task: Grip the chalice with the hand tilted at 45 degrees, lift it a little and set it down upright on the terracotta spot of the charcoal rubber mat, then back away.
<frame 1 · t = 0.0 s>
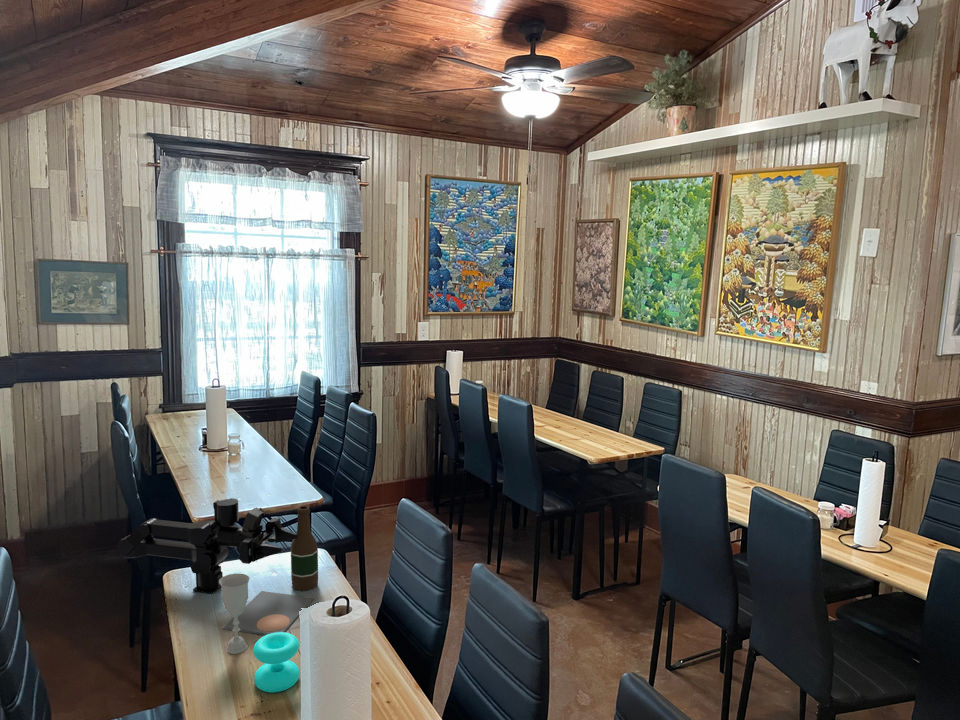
hand: (289, 542, 197), 17 cm above the table, tool horizontal, fingers open, 9 cm apart
beer bottle: (304, 586, 208), on the table
chalice: (236, 648, 175), on the table
turquoise spool: (277, 682, 162), on the table
mat: (270, 613, 191), on the table
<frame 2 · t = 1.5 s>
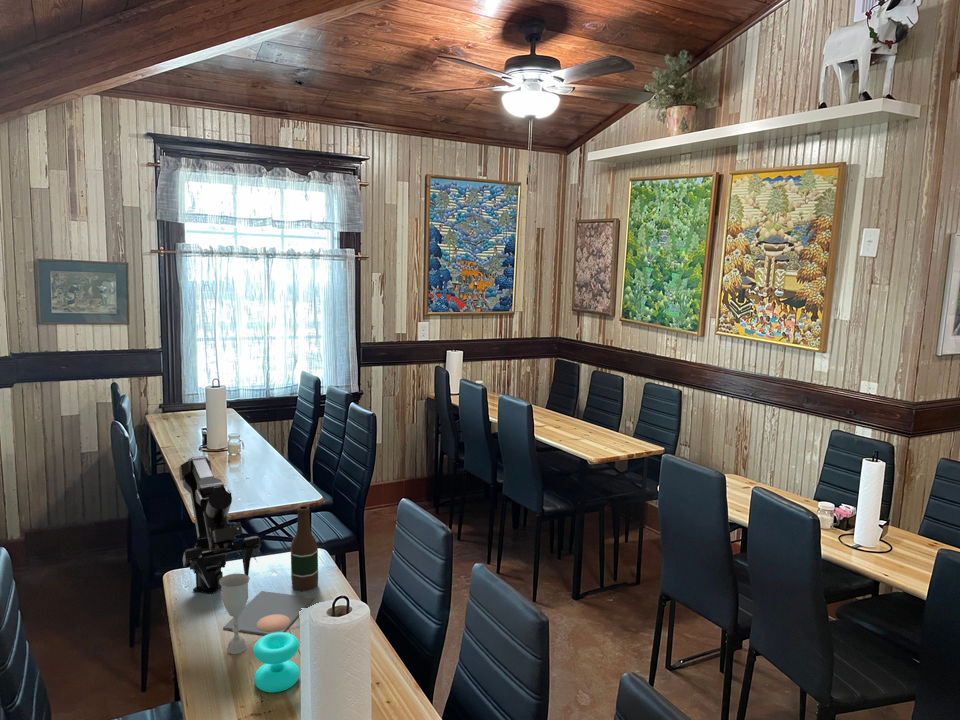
hand: (228, 582, 180), 14 cm above the table, tool tilted 45°, fingers open, 9 cm apart
nothing on the table moved.
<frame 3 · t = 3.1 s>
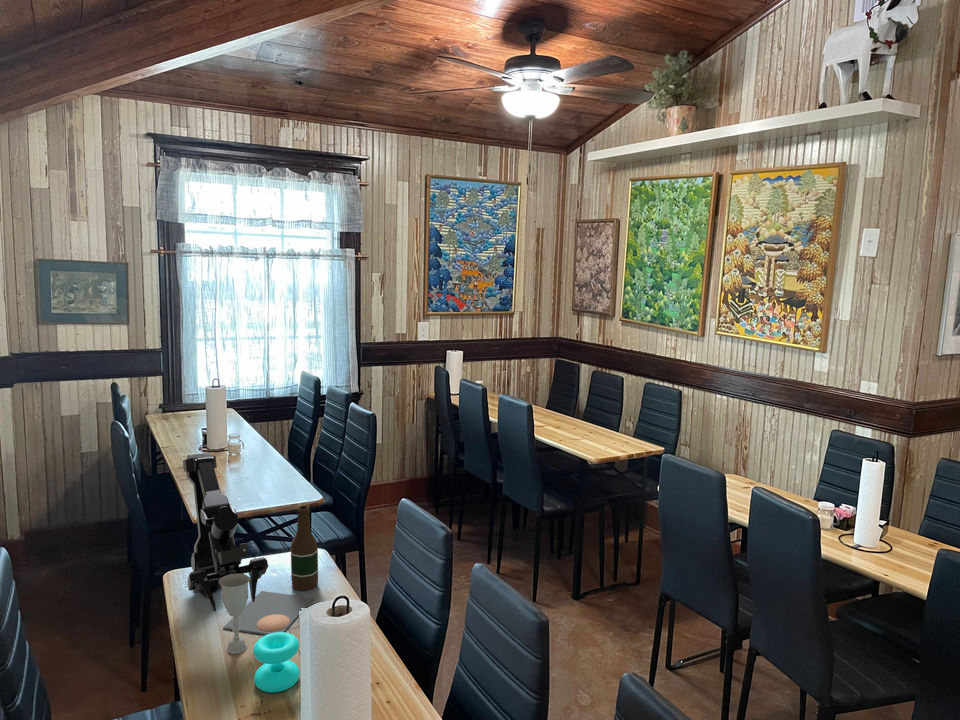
hand: (234, 606, 174), 11 cm above the table, tool tilted 45°, fingers open, 9 cm apart
nothing on the table moved.
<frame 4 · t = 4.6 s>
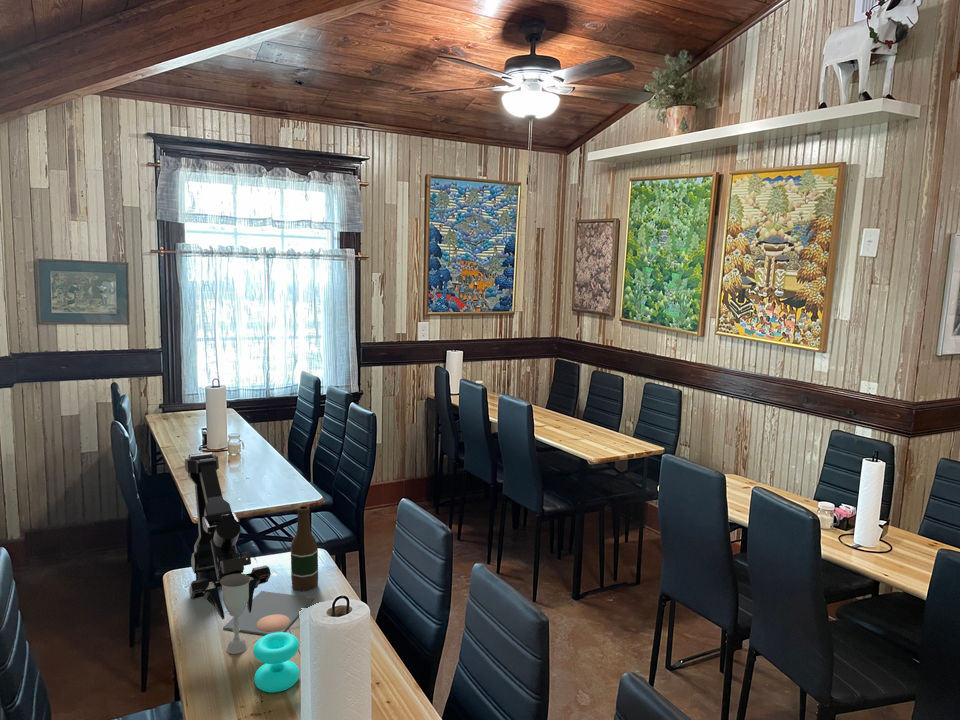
hand: (236, 615, 172), 9 cm above the table, tool tilted 45°, fingers closed on chalice, 6 cm apart
chalice: (236, 648, 175), on the table, touching gripper
everything else where it was.
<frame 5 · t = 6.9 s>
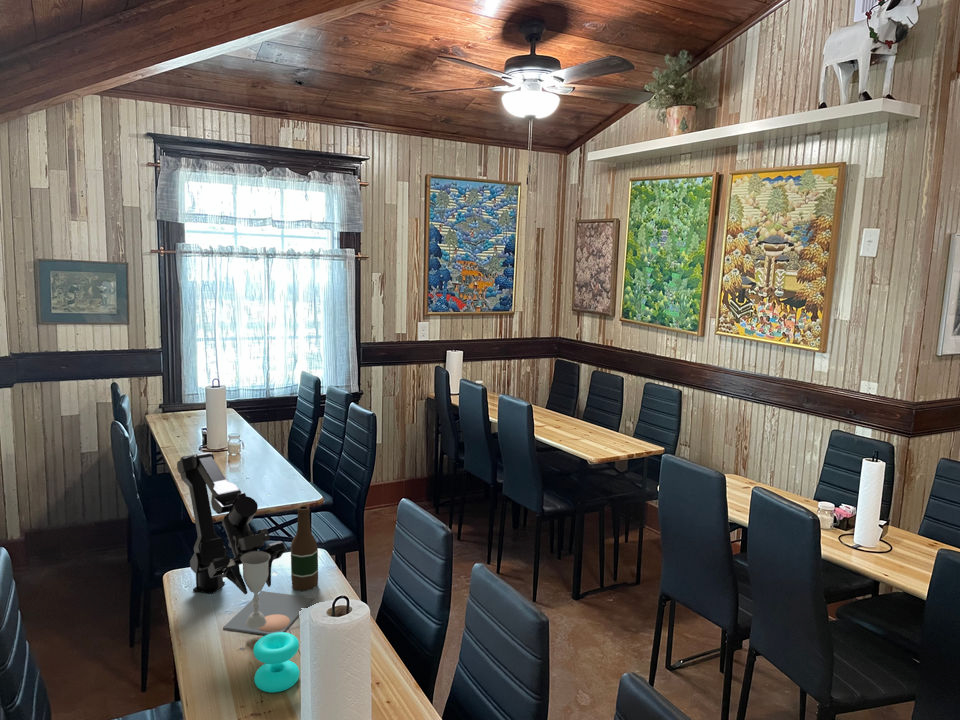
hand: (258, 590, 177), 13 cm above the table, tool tilted 45°, fingers closed on chalice, 6 cm apart
chalice: (256, 623, 180), point 3 cm above the table, touching gripper
everything else where it was.
when the fingers open (11 cm above the table, at t = 9.0 s): chalice stays where it is, resting on mat.
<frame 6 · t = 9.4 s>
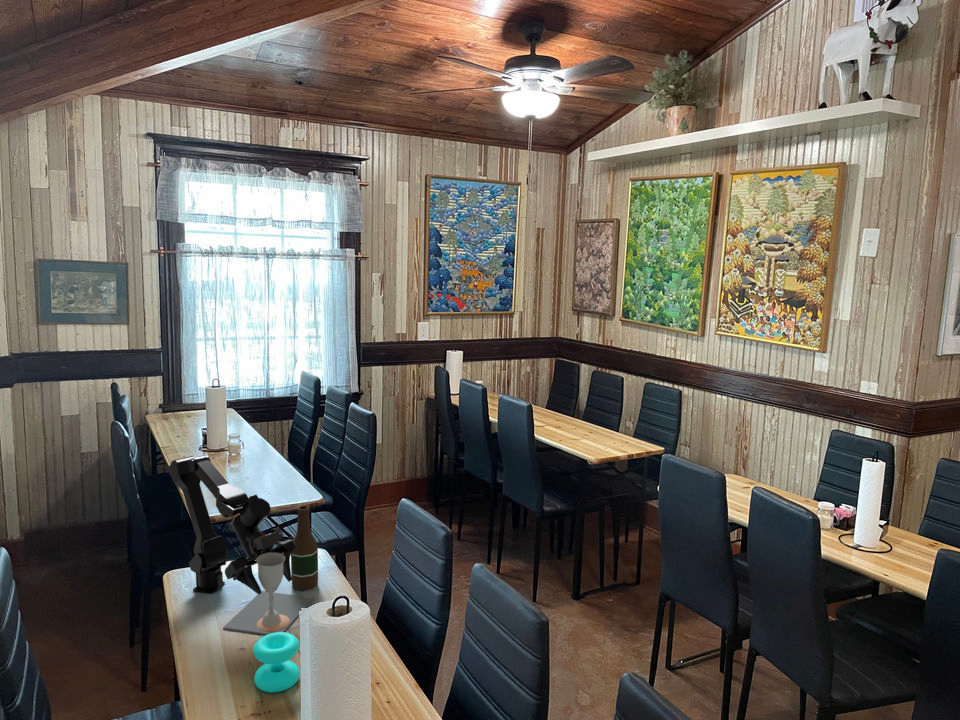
hand: (275, 587, 183), 11 cm above the table, tool tilted 45°, fingers open, 9 cm apart
chalice: (271, 621, 186), point 1 cm above the table, touching mat
everything else where it was.
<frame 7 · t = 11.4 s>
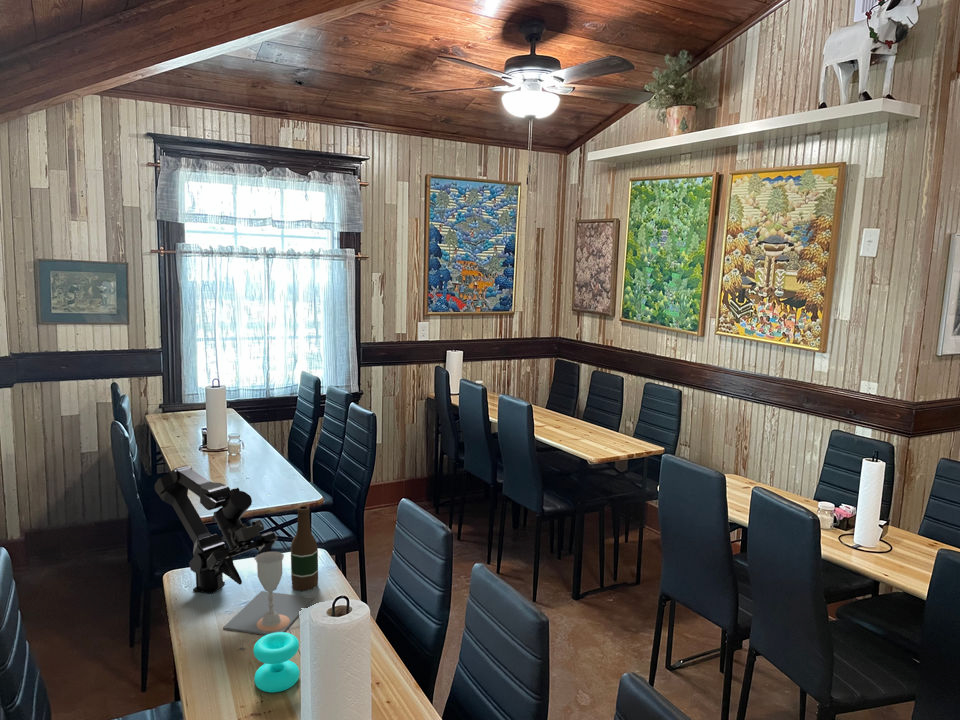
hand: (256, 577, 188), 11 cm above the table, tool tilted 45°, fingers open, 9 cm apart
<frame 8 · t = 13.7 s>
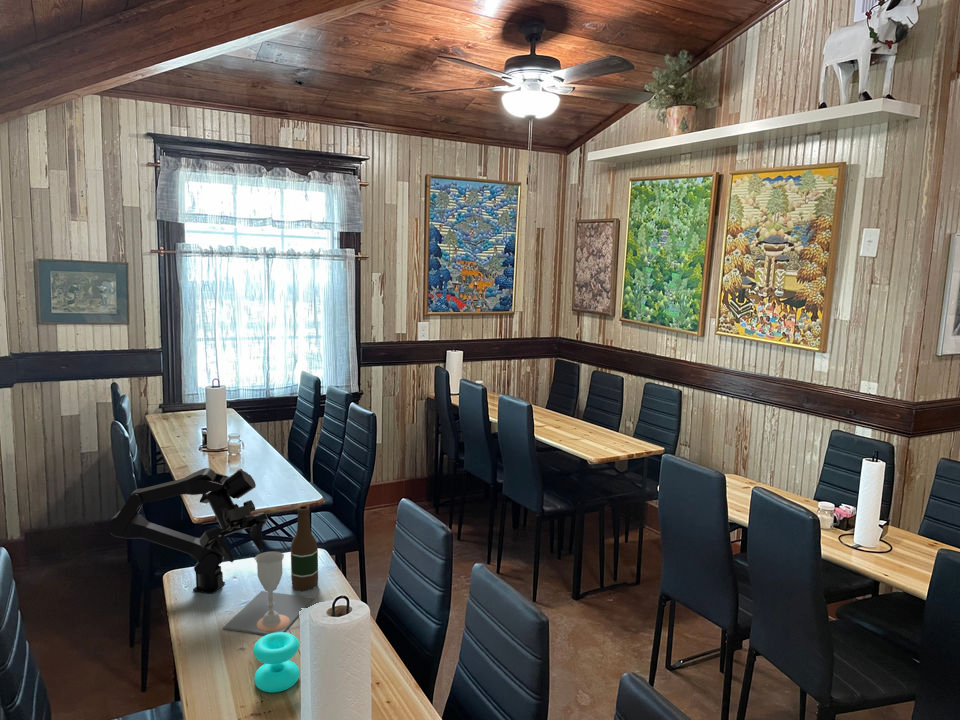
hand: (247, 556, 195), 14 cm above the table, tool tilted 45°, fingers open, 9 cm apart
nothing on the table moved.
at the end: chalice inside the target area (0.9 cm from its centre), resting on mat; chalice tilted 0°; the gripper is holding nothing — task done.
